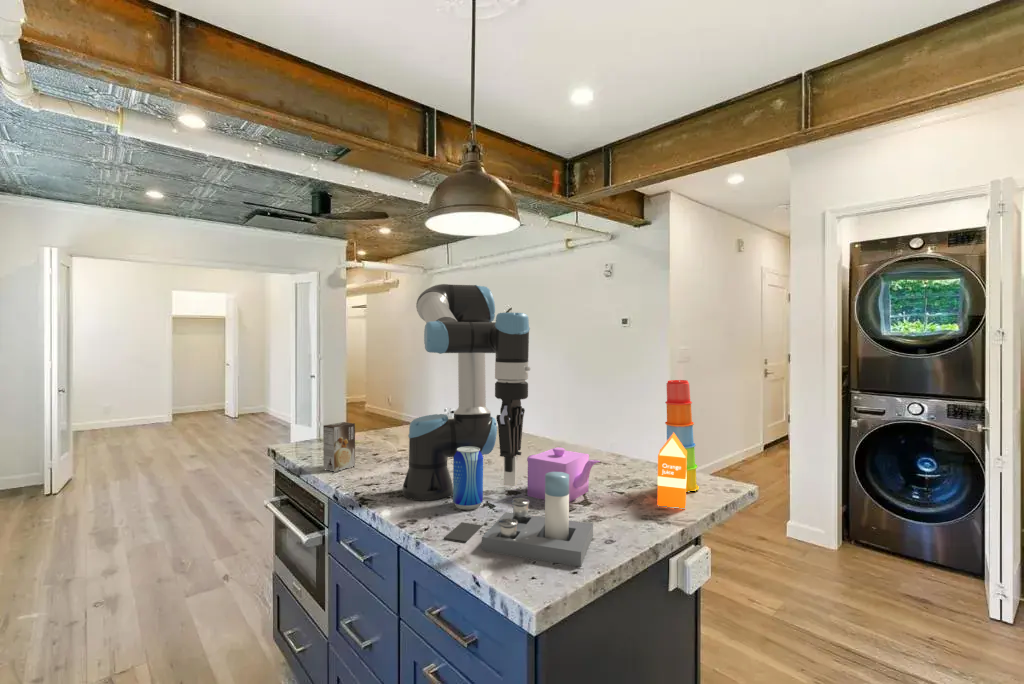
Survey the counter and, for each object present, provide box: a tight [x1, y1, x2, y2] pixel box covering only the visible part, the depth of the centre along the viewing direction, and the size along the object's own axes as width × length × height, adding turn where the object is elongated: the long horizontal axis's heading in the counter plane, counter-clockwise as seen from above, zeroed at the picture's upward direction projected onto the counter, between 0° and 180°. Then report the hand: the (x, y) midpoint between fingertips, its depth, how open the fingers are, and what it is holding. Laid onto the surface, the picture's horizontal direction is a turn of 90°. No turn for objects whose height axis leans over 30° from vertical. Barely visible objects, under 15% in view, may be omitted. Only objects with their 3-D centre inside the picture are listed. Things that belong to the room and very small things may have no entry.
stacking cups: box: [664, 379, 700, 493], centre depth 151 cm, size 10×10×35 cm
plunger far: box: [511, 497, 530, 522], centre depth 114 cm, size 4×4×4 cm
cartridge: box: [544, 472, 570, 541], centre depth 107 cm, size 5×5×16 cm
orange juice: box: [656, 432, 687, 509], centre depth 137 cm, size 8×9×20 cm
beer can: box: [452, 446, 484, 510], centre depth 134 cm, size 8×8×16 cm
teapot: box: [526, 447, 601, 503], centre depth 144 cm, size 15×25×14 cm, turn 55°
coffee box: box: [322, 421, 356, 472], centre depth 170 cm, size 9×6×16 cm
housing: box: [481, 511, 594, 568], centre depth 108 cm, size 22×16×4 cm
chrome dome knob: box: [499, 518, 518, 539], centre depth 106 cm, size 4×4×4 cm
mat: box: [443, 521, 484, 544], centre depth 114 cm, size 10×10×1 cm
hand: (510, 484), depth 107 cm, fingers closed
